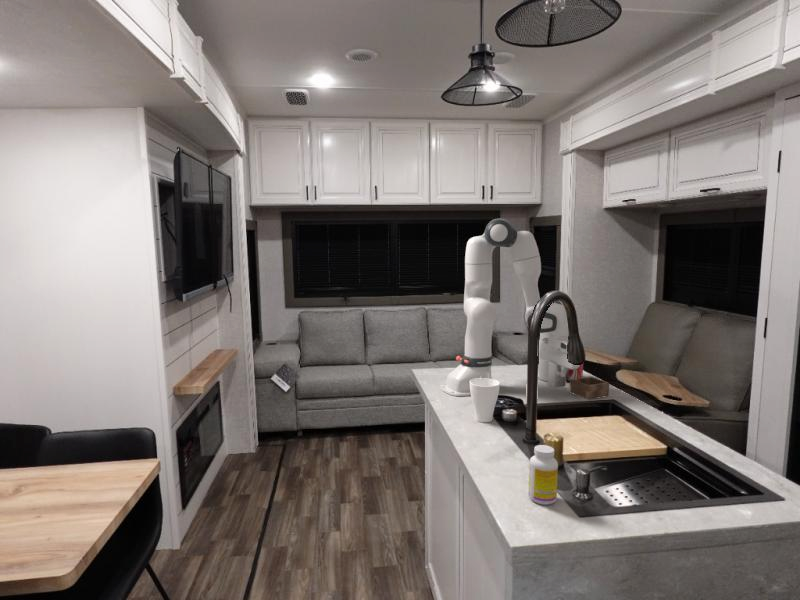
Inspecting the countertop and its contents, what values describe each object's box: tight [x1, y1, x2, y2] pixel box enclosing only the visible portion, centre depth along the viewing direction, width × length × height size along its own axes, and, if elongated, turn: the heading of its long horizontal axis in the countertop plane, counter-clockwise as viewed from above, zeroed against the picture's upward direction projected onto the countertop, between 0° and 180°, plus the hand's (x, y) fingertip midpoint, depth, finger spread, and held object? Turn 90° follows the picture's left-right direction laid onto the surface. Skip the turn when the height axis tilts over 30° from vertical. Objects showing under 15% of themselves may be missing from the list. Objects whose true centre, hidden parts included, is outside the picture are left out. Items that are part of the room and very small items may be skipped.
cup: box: [470, 378, 501, 423], centre depth 175 cm, size 10×10×14 cm
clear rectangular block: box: [547, 361, 567, 388], centre depth 205 cm, size 6×4×10 cm, turn 114°
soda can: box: [566, 363, 584, 382], centre depth 224 cm, size 7×7×13 cm
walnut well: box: [569, 376, 610, 400], centre depth 205 cm, size 11×10×6 cm
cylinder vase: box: [538, 332, 549, 383], centre depth 226 cm, size 12×12×25 cm
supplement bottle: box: [528, 444, 559, 506], centre depth 122 cm, size 7×7×13 cm
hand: (557, 374), depth 205 cm, fingers closed on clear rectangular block, 4 cm apart
